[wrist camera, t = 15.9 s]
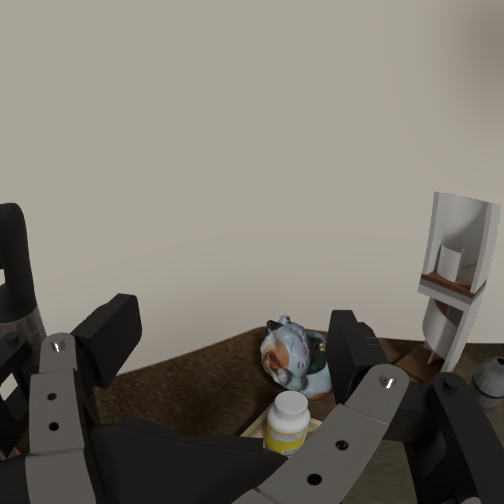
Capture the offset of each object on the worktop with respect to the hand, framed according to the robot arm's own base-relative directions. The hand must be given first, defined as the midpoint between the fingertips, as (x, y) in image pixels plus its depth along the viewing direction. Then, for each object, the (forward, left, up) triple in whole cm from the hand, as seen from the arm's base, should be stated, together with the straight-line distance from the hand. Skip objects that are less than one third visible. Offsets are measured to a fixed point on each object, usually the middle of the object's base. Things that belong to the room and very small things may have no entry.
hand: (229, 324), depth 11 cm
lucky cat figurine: (-8, +30, -30) cm, 43 cm away
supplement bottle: (-3, +15, -30) cm, 33 cm away
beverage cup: (+24, +28, -30) cm, 48 cm away
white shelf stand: (+15, +44, -30) cm, 56 cm away
